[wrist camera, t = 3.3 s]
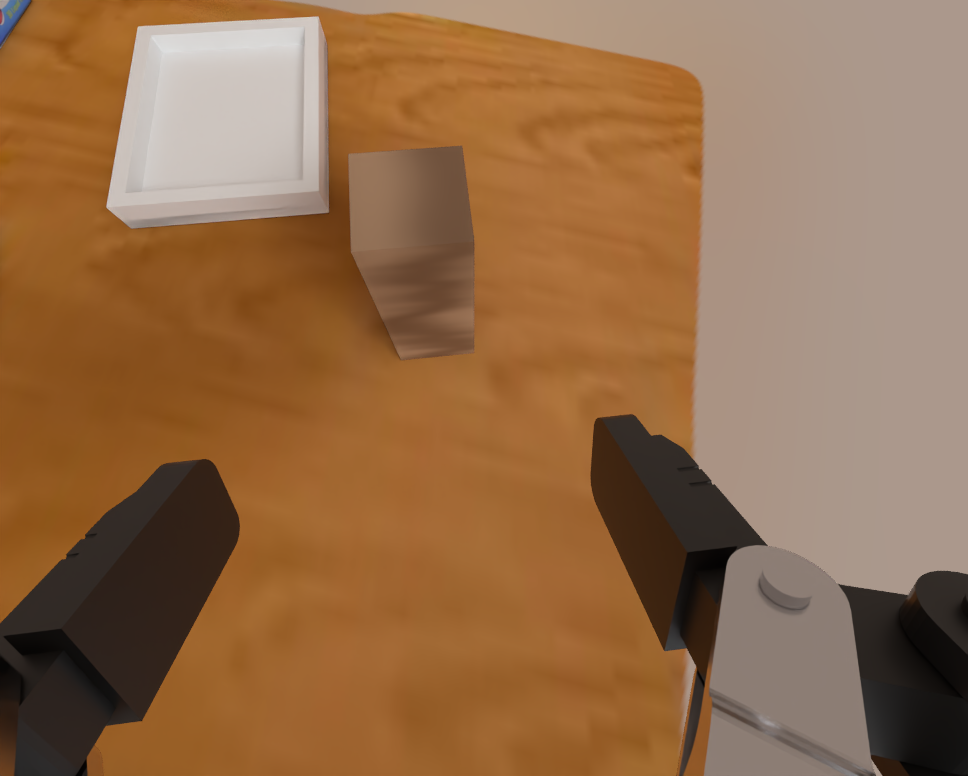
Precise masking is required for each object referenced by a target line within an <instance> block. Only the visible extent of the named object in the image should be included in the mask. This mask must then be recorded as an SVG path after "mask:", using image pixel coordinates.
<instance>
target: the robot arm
mask: <svg viewBox="0 0 968 776" xmlns="http://www.w3.org/2000/svg"><path fill="white" fill-rule="evenodd" d="M591 487H592V492H593V496H594V500H595V502H596V505H597V507H598V509H599V511H600V513H601V516H602V518H603V520H604V522H605V524H606V526H607V528H608V531H609V533H610V535H611V537H612V539H613V541H614V544H615V546H616V548H617V550H618V552H619V554H620V556H621V559H622V561H623V563H624V565H625V567H626V569H627V572H628V574H629V576H630V578H631V580H632V582H633V584H634V587H635V589H636V591H637V593H638V595H639V597H640V600H641V602H642V604H643V606H644V608H645V610H646V612H647V615H648V617H649V619H650V621H651V623H652V625H653V628H654V630H655V632H656V634H657V636H658V638H659V640H660V643H661V645H662V647H663V649H664V651H669V650H677V649H684V648H687V649H688V651H689V653H690V655H691V657H692V659H693V661H694V663H695V664H696V669H695V673H694V677H693V683H692V688H691V694H690V700H689V705H688V711H687V717H686V722H685V728H684V734H683V739H682V745H681V751H680V757H679V762H678V768H677V774H676V776H876V775H875V772H874V769H873V766H872V762H871V759H872V761H873V762H874V764H875V765H876V766H877V768H878V770H879V771H880V773H881V774H882V776H968V574H963V573H959V572H951V571H934V572H929V573H927V574H924V575H922V576H921V577H920V578H919V579H918V580H917V582H916V584H915V585H914V587H913V588H912V590H911V591H910V593H909V595H904V594H897V593H890V592H884V591H877V590H871V589H864V588H858V587H851V586H845V585H840V584H837V583H836V582H835V581H834V580H833V579H832V578H831V577H830V576H829V575H828V574H827V573H826V572H825V571H823V570H822V569H821V568H819V567H818V566H816V565H815V564H814V563H812V562H810V561H808V560H807V559H805V558H803V557H801V556H799V555H797V554H795V553H792V552H789V551H787V550H783V549H780V548H776V547H770V546H768V545H767V544H766V543H765V542H764V541H763V540H762V539H761V538H760V536H759V535H758V534H757V533H756V532H755V531H754V529H753V528H752V527H751V526H750V525H749V524H748V523H747V521H746V520H745V519H744V518H743V517H742V516H741V514H740V513H739V512H738V511H737V510H736V509H735V507H734V506H733V505H732V504H731V503H730V502H729V501H728V499H727V498H726V497H725V496H724V495H723V494H722V493H721V491H720V490H719V489H718V488H717V487H716V485H712V483H711V480H710V479H709V477H708V476H707V475H706V474H705V473H704V472H703V471H702V469H700V470H699V468H698V465H697V463H696V462H695V461H694V460H693V459H692V458H691V457H690V455H689V454H688V453H687V452H686V451H685V450H684V448H682V447H680V446H679V445H677V444H675V443H674V442H672V441H671V440H669V439H667V438H666V437H664V436H662V435H654V436H651V435H650V434H649V433H648V431H647V430H646V429H645V428H644V426H643V425H642V424H641V422H640V421H639V420H638V419H637V417H636V416H634V415H632V414H629V415H620V416H611V417H602V418H597V419H596V421H595V424H594V432H593V447H592V462H591ZM239 529H240V524H239V517H238V514H237V512H236V509H235V507H234V505H233V503H232V501H231V499H230V496H229V494H228V492H227V490H226V488H225V485H224V483H223V481H222V479H221V477H220V475H219V472H218V470H217V468H216V466H215V465H214V464H213V463H212V462H211V461H210V460H207V459H202V460H192V461H183V462H174V463H166V464H163V465H162V466H160V467H159V468H158V469H157V470H156V471H155V472H154V473H153V474H152V475H151V476H150V477H149V479H148V480H147V481H146V482H145V483H144V484H143V485H142V486H141V487H140V488H139V489H138V490H137V492H135V493H134V494H132V495H131V496H129V497H128V498H126V499H125V500H124V501H122V502H121V503H119V504H118V505H116V506H115V507H114V508H112V509H111V510H109V511H108V512H107V513H106V514H105V515H104V516H103V517H102V518H101V519H100V520H99V521H98V522H97V523H96V524H95V525H94V526H93V527H92V528H91V529H90V530H89V531H88V532H87V533H86V534H85V536H86V537H85V539H81V540H80V541H79V542H78V543H77V544H76V545H75V546H74V547H73V548H72V549H71V550H70V551H69V552H68V553H67V554H66V555H67V558H66V559H64V560H61V561H60V562H59V563H58V564H57V565H56V566H55V567H54V568H53V569H52V570H51V571H50V572H49V573H48V574H47V575H46V576H45V577H44V578H43V579H42V580H41V581H40V583H39V584H38V585H37V586H36V587H35V588H34V589H33V590H32V591H31V592H30V593H29V594H28V595H27V596H26V597H25V598H24V599H23V600H22V601H21V602H20V603H19V604H18V605H17V607H16V608H15V609H14V610H13V611H12V612H11V613H10V614H9V615H8V616H7V617H6V618H5V619H4V620H3V621H2V622H1V623H0V776H104V773H103V760H102V755H101V752H100V750H99V749H98V748H97V747H96V746H95V745H94V744H95V743H96V741H97V739H98V738H99V736H100V734H101V733H102V731H103V729H104V728H105V726H108V725H115V724H122V723H129V722H137V721H142V720H143V718H144V716H145V714H146V712H147V710H148V708H149V707H150V705H151V703H152V701H153V699H154V697H155V695H156V693H157V692H158V690H159V688H160V686H161V684H162V682H163V680H164V678H165V677H166V675H167V673H168V671H169V669H170V667H171V665H172V664H173V662H174V660H175V658H176V656H177V654H178V652H179V650H180V649H181V647H182V645H183V643H184V641H185V639H186V637H187V636H188V634H189V632H190V630H191V628H192V626H193V624H194V622H195V621H196V619H197V617H198V615H199V613H200V611H201V609H202V607H203V606H204V604H205V602H206V600H207V598H208V596H209V594H210V593H211V591H212V589H213V587H214V585H215V583H216V581H217V579H218V578H219V576H220V574H221V572H222V570H223V568H224V566H225V564H226V563H227V561H228V559H229V557H230V555H231V553H232V551H233V550H234V548H235V546H236V543H237V541H238V537H239Z"/></svg>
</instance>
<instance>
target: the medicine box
mask: <svg viewBox="0 0 968 776" xmlns="http://www.w3.org/2000/svg"><path fill="white" fill-rule="evenodd" d="M30 2H31V0H0V49H1V47H2V46H3V44H4V43H5V41H6V39H7V38H8V36H9V35H10V33H11V31H12V30H13V28H14V27H15V25H16V23H17V22H18V21H19V19H20V17H21V16H22V14H23V13H24V11H25V10H26V8H27V7H28V5H29V4H30Z"/></svg>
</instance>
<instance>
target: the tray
mask: <svg viewBox="0 0 968 776" xmlns="http://www.w3.org/2000/svg"><path fill="white" fill-rule="evenodd" d="M106 208H107V209H109V210H110V211H111V212H112V213H113V214H115V215H116V216H117V217H118V218H119V219H121V220H122V221H123V222H124V223H125V224H126V225H128V226H129V227H130V228H131V229H132V228H145V227H157V226H170V225H182V224H195V223H207V222H220V221H232V220H245V219H257V218H270V217H282V216H295V215H307V214H320V213H329V163H328V58H327V42H326V39H325V36H324V33H323V30H322V26H321V23H320V20H319V17H302V18H284V19H266V20H248V21H230V22H212V23H194V24H176V25H157V26H139V27H138V30H137V35H136V41H135V47H134V52H133V58H132V64H131V69H130V75H129V81H128V87H127V92H126V98H125V104H124V109H123V115H122V121H121V126H120V132H119V138H118V144H117V149H116V155H115V161H114V166H113V172H112V178H111V183H110V189H109V195H108V201H107V206H106Z"/></svg>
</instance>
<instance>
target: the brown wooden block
mask: <svg viewBox="0 0 968 776" xmlns="http://www.w3.org/2000/svg"><path fill="white" fill-rule="evenodd" d="M348 162H349V199H350V237H351V253H352V255H353V258H354V260H355V262H356V264H357V266H358V268H359V270H360V273H361V275H362V277H363V279H364V281H365V283H366V286H367V288H368V290H369V292H370V294H371V296H372V299H373V301H374V303H375V305H376V307H377V309H378V312H379V314H380V316H381V318H382V320H383V322H384V325H385V327H386V329H387V331H388V333H389V335H390V338H391V340H392V342H393V344H394V346H395V348H396V350H397V353H398V355H399V357H400V359H401V360H408V359H418V358H428V357H438V356H449V355H459V354H469V353H474V235H473V227H472V220H471V212H470V204H469V196H468V188H467V180H466V172H465V164H464V156H463V148H462V146H452V147H438V148H424V149H410V150H396V151H382V152H368V153H354V154H348Z"/></svg>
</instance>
